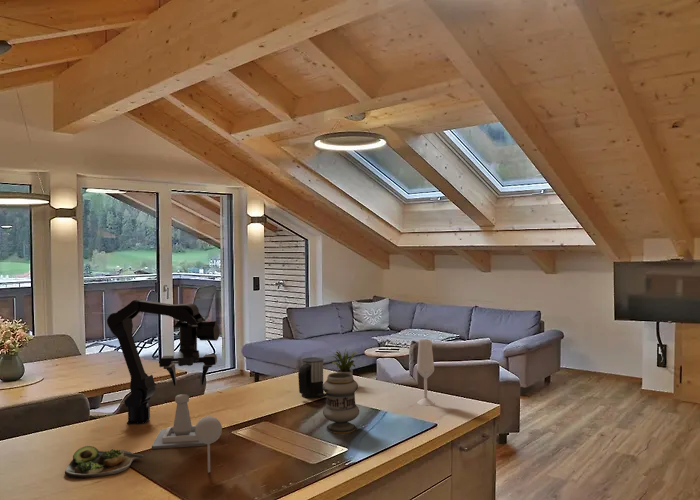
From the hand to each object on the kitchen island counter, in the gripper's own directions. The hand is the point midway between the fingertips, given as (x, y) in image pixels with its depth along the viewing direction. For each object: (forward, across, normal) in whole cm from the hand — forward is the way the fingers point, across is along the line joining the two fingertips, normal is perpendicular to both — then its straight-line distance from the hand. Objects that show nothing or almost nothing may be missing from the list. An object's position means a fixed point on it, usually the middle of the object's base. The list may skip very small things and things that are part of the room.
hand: (188, 385), depth 195 cm
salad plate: (+14, -19, -36) cm, 43 cm away
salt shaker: (+12, 0, -16) cm, 20 cm away
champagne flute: (+13, +87, +9) cm, 88 cm away
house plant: (+13, +58, +42) cm, 73 cm away
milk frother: (+13, +47, +24) cm, 55 cm away
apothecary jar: (+13, +51, -15) cm, 55 cm away
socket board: (+13, 0, -16) cm, 21 cm away
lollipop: (+13, +12, -45) cm, 48 cm away
